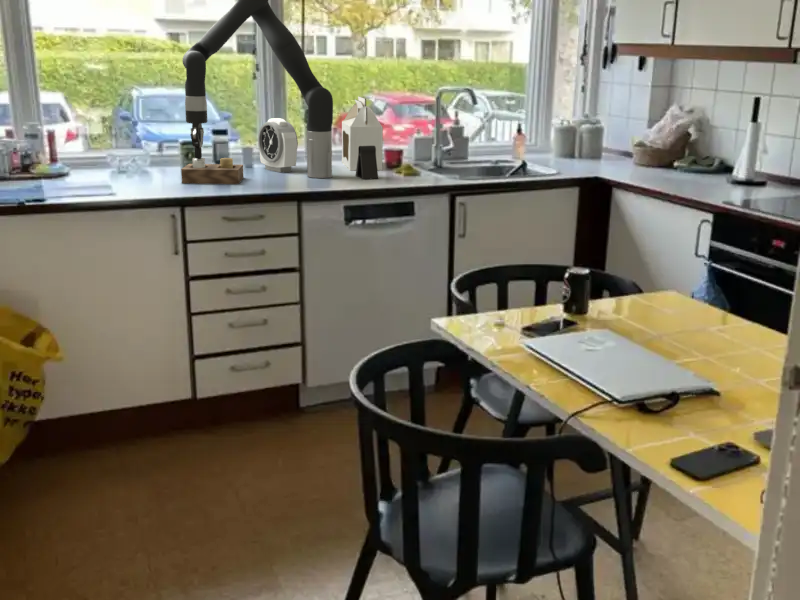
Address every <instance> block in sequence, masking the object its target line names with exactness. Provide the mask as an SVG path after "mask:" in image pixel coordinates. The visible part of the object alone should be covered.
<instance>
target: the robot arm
mask: <svg viewBox="0 0 800 600" xmlns="http://www.w3.org/2000/svg"><path fill="white" fill-rule="evenodd" d="M250 17H251V18H252V19H253V20H254V21H255V23H256V24H257V26H258V27H259V29H260V30H261V32H262V35H263V36H264V37H265V40H266V42H267V43H268V46H270V48H271V50H272V51H273V53H274V55H275V57H276V58H277V59H278V61H279V62H280V64H281V65H282V66H283V68H284V69H285V71H286V72H287V74H289V76H290V77H291V79H292V80H293V81H294V82H295V84H296V86H297V88H298V90H299V91H300V93H301V95H302V98H303V99H304V101H305V104H306V106H307V111H308V112H307V122H306V152H307V153H306V155H307V156H306V157H307V158H306V159H307V160H306V163H307V165H306V166H307V169H306V171H307V174H306V175H307V177H308V178H314V179H315V178H316V179H325V178H332V177H333V150H332V149H333V145H332V144H333V143H332V141H333V139H332V131H333V129H332V128H333V127H332V125H333V121H334V119H333V118H334V117H333V115H334V100H333V99H334V98H333V94H332V93H331V91H330V89H327V88H325V87H324V86H323V85H322V84H321V83H320V82H319V80H318V79H317V77H316V76H315V74H314V73H313V71H312V70H311V67H310V64H309V62H308V60H307V58H306V55H305V53H304V51H303V49H302V47H301V46H300V44H299V42H298V40H297V39H296V38H295V36H294V35H293V33H292V32H291V30H289V29H288V28H287V26H286V25H285V24H284V23H283V22H282V21H281V20H280V19H279V18H278V16H277V15H276V14H275V12H274V11H273V8H272V7H271V5H270V3H269V0H237V1H236V2H235V4H234V5H232V7H231V8H230V9H229V10H228V11H227V12H226V13H225V14H223V16H222V17H221V18H219V19H218V20H217V21H216V22H215V23H214V24H213V25H212V26H211V27H210V28H209V29H208V30H207V31H206V32H205V33H204V34H203V35H202V36H201V38H200V39H199V40H198V41H197V42H196V43H195V44H193V45H192V46H191V47H190V48H189V49H188V50H187V51H186V52H185V53H184V55H183V57H182V65H183V66H184V68H185V70H186V71H185V72H186V80H185V83H184V88H185V89H184V94H185V99H184V107H185V111H184V112H185V123H187V124H191V128H190V138H191V140H190V141H191V143H192V147H193V148H194V158H203V157H202V152H203V151H202V147H203V144H204V133H205V129H204V127H203V125H202V124H206V123H208V104H207V101H208V100H207V96H206V95H207V94H206V74H207V72H206V71H207V61H208V60H209V59H210V58H211V57H212V56H213V55H215V54H216V53H218V51H220V50H221V48H223V46H225V44H227V42H228V41H229V40H230V38H231V37H232V36H233V35H234V34H235V33H236V32H237V31H238V30H239V28H240V27H241V26H242V25H243V24H244V22H246V21H247V20H248V19H249V18H250Z"/></svg>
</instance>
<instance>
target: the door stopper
mask: <svg viewBox="0 0 800 600" xmlns="http://www.w3.org/2000/svg"><path fill="white" fill-rule="evenodd" d="M378 171H379V170H377V161H376V147H375V146H359V148H358V161H357V168H356V171H355V177H356V178H359V179H361V180H365V181H366V180H379V172H378Z"/></svg>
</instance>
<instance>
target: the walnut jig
mask: <svg viewBox="0 0 800 600" xmlns="http://www.w3.org/2000/svg"><path fill="white" fill-rule="evenodd" d="M219 161H220V162H219V164H218V163H205V168H193V163H188V164H186V165H185V166H184V167H182V168H181V169H180V170H181V171H180V174H181V184H200V185H201V184H204V185H205V184H208V185H209V184H211V185H213V184H214V185H215V184H216V185H217V184H219V185H220V184H221V185H239V184H240V183H241V182H242V181H243V179H244V177H245V176H244V164H240V163H239V164H234V160H233V158H232V157H223V158H220V159H219Z"/></svg>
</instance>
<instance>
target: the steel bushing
mask: <svg viewBox="0 0 800 600" xmlns="http://www.w3.org/2000/svg"><path fill="white" fill-rule="evenodd" d="M192 164H193V168H205V164H206V158H205V157H201V158H195V157H192Z"/></svg>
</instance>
